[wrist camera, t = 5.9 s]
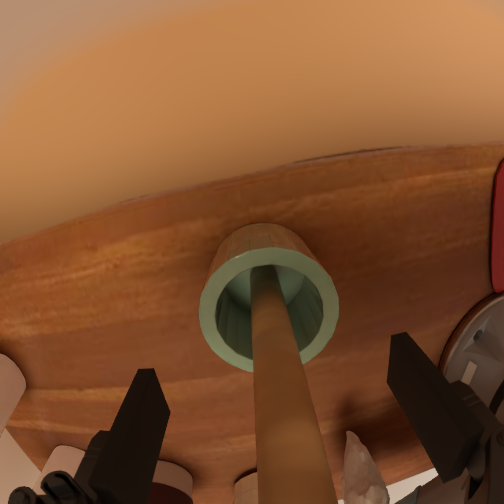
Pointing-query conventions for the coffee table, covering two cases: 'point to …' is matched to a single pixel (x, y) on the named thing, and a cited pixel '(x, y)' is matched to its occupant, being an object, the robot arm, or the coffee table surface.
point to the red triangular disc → (498, 232)
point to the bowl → (246, 490)
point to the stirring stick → (283, 405)
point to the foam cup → (9, 389)
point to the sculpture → (361, 475)
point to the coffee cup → (170, 485)
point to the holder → (239, 299)
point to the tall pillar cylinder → (60, 463)
